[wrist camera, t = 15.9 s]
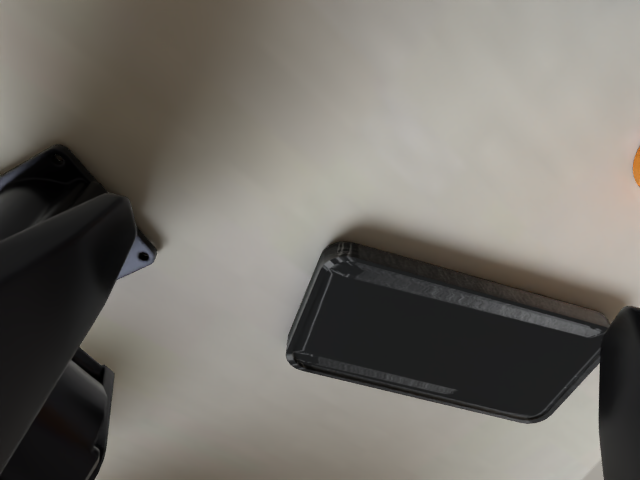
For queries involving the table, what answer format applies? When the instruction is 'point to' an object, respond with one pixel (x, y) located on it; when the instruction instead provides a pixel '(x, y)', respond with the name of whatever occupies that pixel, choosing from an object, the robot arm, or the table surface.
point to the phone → (441, 335)
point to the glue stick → (637, 167)
